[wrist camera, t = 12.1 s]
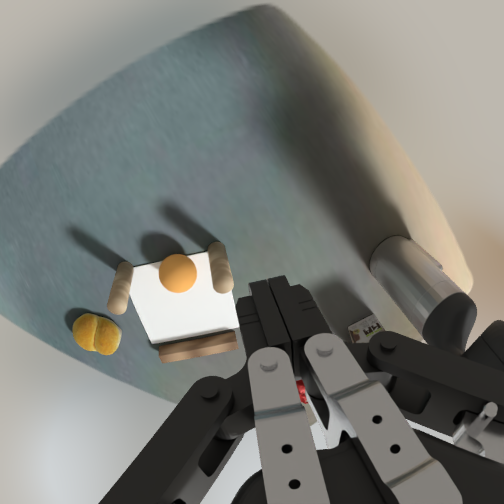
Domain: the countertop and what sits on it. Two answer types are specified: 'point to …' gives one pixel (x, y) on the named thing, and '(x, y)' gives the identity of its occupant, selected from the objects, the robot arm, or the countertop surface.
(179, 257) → the ball
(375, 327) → the coffee box
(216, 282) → the post
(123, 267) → the post
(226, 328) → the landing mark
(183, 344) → the stopper rail
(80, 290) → the countertop surface
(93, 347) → the bread roll
